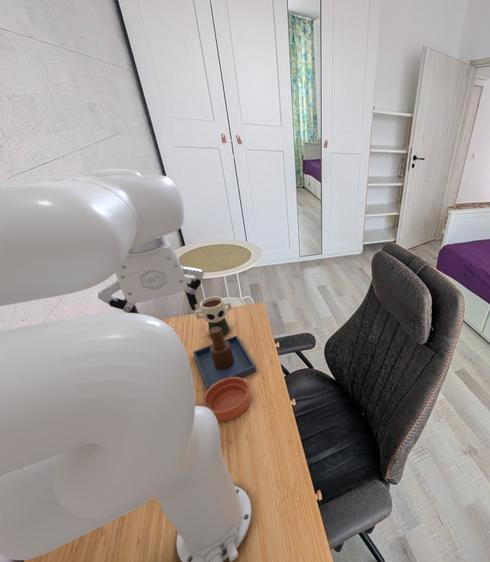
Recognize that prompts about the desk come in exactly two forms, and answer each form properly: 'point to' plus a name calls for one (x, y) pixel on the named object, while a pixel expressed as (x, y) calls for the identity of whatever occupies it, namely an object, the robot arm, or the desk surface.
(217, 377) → the tray
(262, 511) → the desk surface
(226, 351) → the bottle
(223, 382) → the bowl
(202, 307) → the character mug
